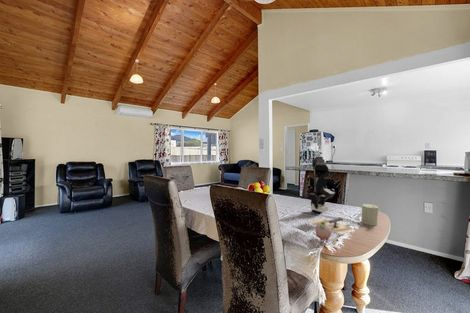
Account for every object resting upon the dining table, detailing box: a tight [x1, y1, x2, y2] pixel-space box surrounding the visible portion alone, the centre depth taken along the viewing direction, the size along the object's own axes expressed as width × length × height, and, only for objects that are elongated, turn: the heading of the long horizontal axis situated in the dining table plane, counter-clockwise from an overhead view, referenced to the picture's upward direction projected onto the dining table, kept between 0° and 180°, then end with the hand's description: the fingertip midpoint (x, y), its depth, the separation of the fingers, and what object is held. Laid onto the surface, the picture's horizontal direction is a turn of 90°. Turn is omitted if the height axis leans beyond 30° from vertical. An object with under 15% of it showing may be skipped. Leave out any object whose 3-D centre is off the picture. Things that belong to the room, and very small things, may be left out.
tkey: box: [328, 216, 344, 227], centre depth 134 cm, size 11×2×5 cm, turn 121°
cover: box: [310, 203, 329, 213], centre depth 140 cm, size 8×6×3 cm
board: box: [308, 217, 355, 235], centre depth 137 cm, size 22×14×2 cm, turn 36°
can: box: [360, 203, 379, 227], centre depth 145 cm, size 9×9×12 cm
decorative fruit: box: [314, 222, 333, 241], centre depth 120 cm, size 9×8×10 cm
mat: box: [292, 225, 307, 232], centre depth 137 cm, size 10×10×1 cm
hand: (319, 208), depth 140 cm, fingers closed on cover, 6 cm apart
